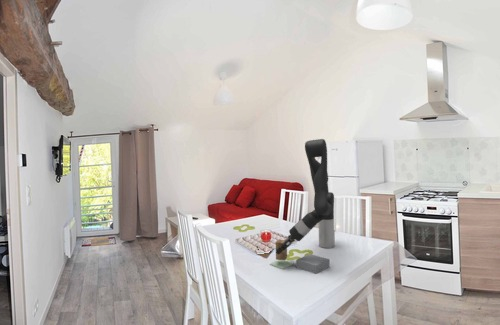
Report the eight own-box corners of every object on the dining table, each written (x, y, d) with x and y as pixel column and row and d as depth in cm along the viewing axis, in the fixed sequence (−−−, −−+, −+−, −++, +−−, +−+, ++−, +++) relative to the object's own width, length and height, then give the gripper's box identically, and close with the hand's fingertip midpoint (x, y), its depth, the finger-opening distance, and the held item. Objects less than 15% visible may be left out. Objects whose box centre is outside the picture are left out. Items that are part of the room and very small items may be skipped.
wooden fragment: (256, 244, 206) (256, 243, 206) (273, 244, 205) (273, 242, 205) (254, 259, 180) (254, 257, 180) (273, 259, 180) (273, 257, 180)
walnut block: (287, 257, 171) (286, 240, 171) (285, 260, 167) (285, 243, 166) (277, 256, 173) (277, 239, 172) (275, 259, 168) (275, 242, 168)
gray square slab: (310, 261, 174) (310, 253, 174) (329, 266, 165) (329, 259, 165) (296, 267, 166) (296, 259, 165) (315, 273, 157) (315, 265, 157)
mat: (280, 260, 176) (280, 259, 176) (293, 264, 170) (293, 263, 170) (269, 264, 170) (269, 263, 170) (282, 269, 164) (282, 268, 164)
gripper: (297, 221, 174) (275, 242, 178) (293, 228, 160) (269, 250, 164) (307, 231, 172) (285, 252, 176) (304, 239, 159) (280, 261, 163)
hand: (278, 251), depth 170 cm, fingers closed on walnut block, 5 cm apart
